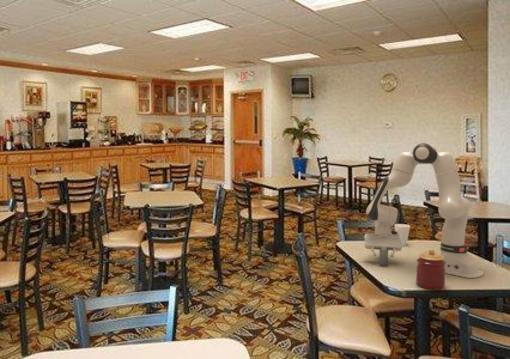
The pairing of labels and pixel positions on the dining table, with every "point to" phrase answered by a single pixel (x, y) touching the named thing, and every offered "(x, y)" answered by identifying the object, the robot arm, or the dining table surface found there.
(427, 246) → the dining table surface
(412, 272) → the dining table surface
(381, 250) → the connector casing
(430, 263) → the canister
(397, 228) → the foam cup
